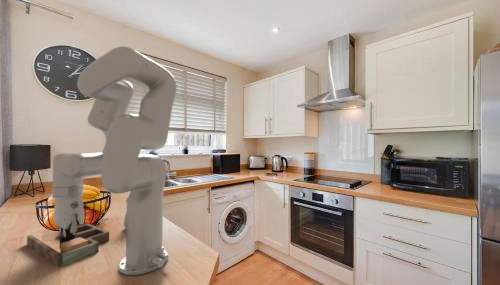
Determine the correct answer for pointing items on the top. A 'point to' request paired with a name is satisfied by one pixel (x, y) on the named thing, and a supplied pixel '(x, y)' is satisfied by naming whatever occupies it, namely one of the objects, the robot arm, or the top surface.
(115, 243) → the top surface
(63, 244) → the block
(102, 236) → the channel
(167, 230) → the top surface
